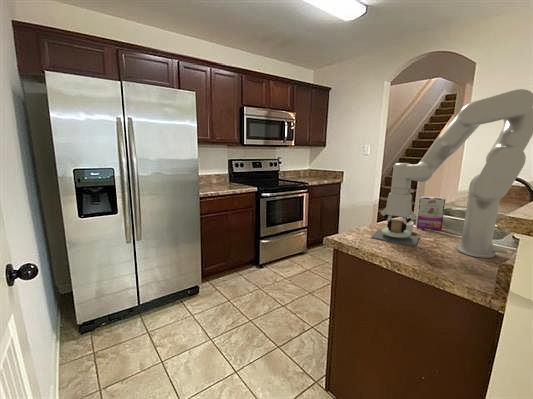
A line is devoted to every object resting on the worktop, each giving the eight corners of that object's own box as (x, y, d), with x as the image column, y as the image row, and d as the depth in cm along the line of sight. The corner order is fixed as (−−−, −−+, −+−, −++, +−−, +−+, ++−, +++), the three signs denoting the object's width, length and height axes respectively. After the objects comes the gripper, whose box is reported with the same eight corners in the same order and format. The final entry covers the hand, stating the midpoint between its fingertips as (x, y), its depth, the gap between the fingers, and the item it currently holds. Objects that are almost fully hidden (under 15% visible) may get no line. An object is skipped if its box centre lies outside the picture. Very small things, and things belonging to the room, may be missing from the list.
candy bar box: (439, 228, 137) (443, 197, 134) (441, 231, 132) (446, 198, 129) (414, 225, 141) (418, 195, 138) (416, 228, 137) (420, 197, 133)
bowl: (413, 230, 133) (414, 220, 132) (410, 236, 125) (411, 226, 124) (390, 226, 140) (391, 217, 138) (385, 231, 131) (386, 222, 130)
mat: (419, 238, 122) (419, 236, 122) (415, 246, 112) (415, 245, 112) (377, 230, 132) (377, 229, 132) (371, 238, 122) (371, 236, 122)
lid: (412, 232, 123) (413, 219, 122) (408, 239, 113) (410, 226, 112) (384, 227, 130) (385, 215, 129) (378, 234, 120) (380, 221, 119)
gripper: (423, 191, 116) (418, 231, 120) (381, 188, 125) (378, 225, 129) (421, 194, 110) (416, 236, 114) (378, 190, 119) (374, 229, 123)
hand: (396, 230), depth 121 cm, fingers closed on lid, 4 cm apart
